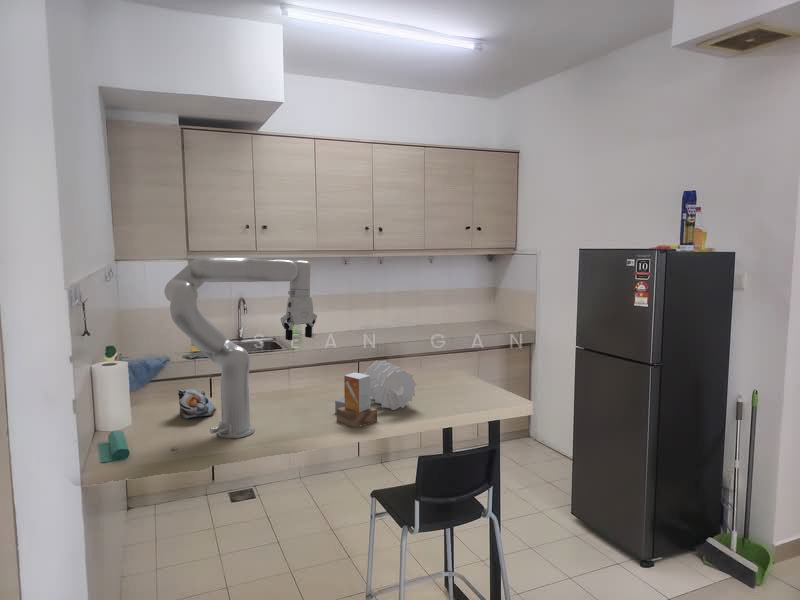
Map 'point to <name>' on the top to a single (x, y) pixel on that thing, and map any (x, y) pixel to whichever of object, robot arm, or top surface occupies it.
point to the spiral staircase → (390, 385)
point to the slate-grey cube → (339, 404)
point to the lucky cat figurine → (194, 404)
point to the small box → (357, 391)
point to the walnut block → (356, 416)
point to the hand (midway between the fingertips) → (298, 338)
